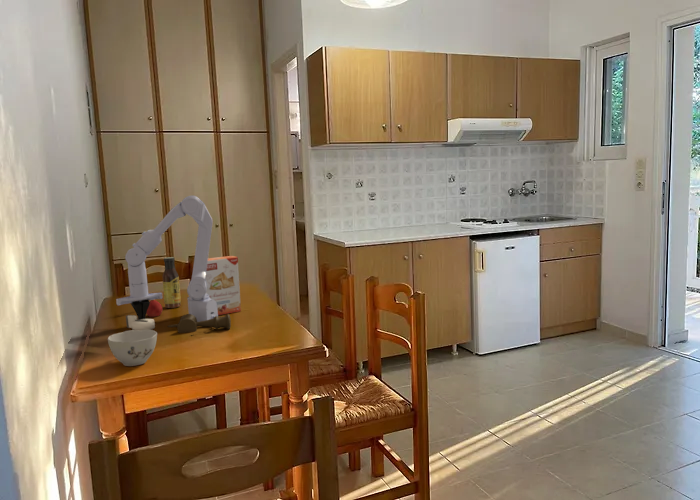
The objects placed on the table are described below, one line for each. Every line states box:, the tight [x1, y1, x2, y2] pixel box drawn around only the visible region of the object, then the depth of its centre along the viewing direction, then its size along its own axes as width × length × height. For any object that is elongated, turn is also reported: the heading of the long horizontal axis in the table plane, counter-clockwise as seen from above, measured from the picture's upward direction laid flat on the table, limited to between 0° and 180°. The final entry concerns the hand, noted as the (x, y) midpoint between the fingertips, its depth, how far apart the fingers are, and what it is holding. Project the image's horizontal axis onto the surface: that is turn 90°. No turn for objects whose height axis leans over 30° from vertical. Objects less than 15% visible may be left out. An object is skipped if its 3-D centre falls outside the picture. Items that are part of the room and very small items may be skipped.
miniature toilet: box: [125, 314, 156, 331], centre depth 182 cm, size 10×7×4 cm
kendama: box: [167, 313, 232, 337], centre depth 180 cm, size 6×10×20 cm
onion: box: [146, 299, 163, 318], centre depth 199 cm, size 6×6×8 cm
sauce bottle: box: [162, 256, 182, 309], centre depth 218 cm, size 6×6×20 cm
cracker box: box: [206, 255, 242, 316], centre depth 203 cm, size 14×6×21 cm, turn 126°
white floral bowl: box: [107, 329, 158, 367], centre depth 151 cm, size 15×12×8 cm
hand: (142, 322), depth 186 cm, fingers closed
